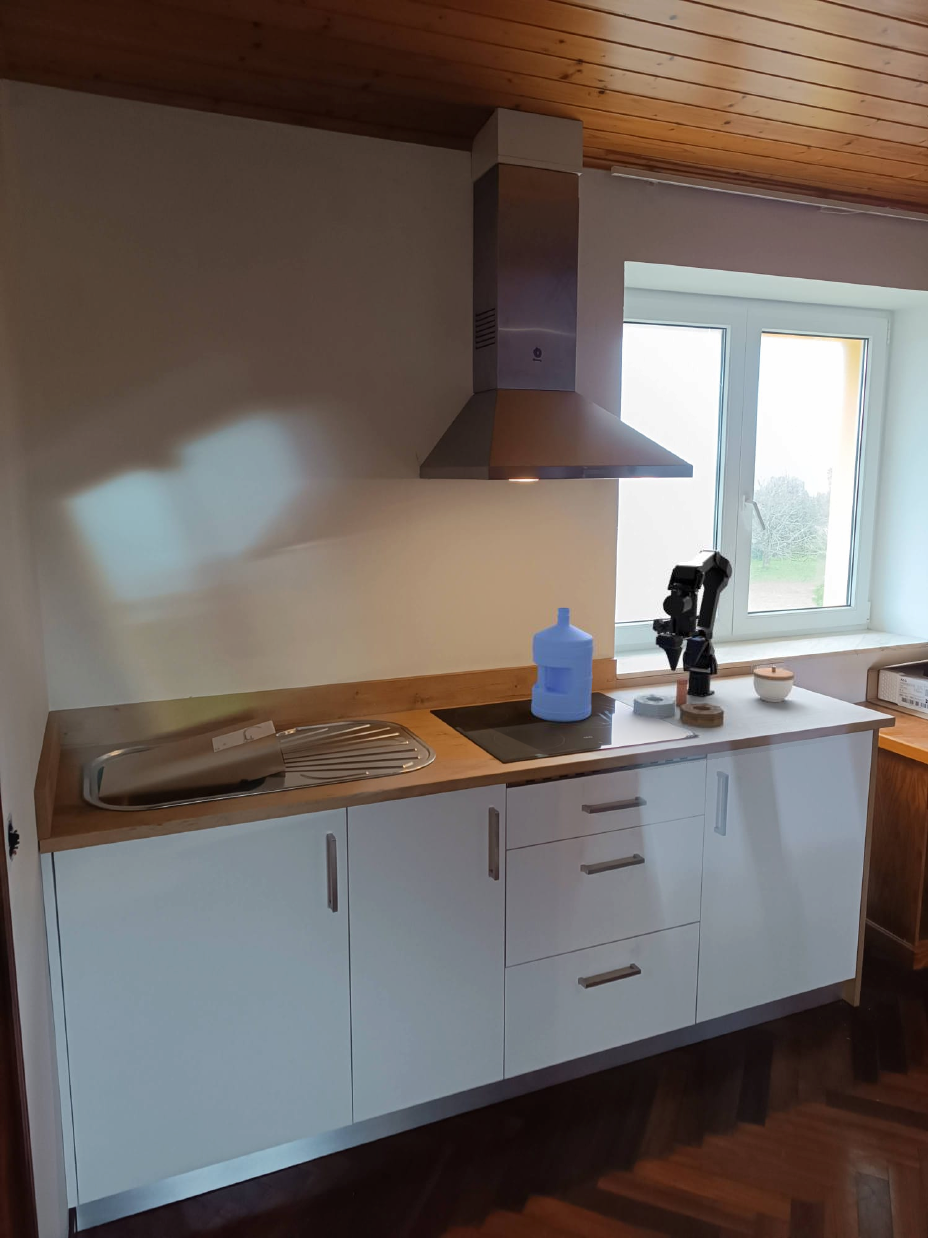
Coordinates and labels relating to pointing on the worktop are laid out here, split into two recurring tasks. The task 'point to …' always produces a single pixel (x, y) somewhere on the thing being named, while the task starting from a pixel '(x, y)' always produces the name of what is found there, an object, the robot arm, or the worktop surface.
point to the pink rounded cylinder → (681, 692)
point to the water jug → (562, 671)
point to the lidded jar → (772, 683)
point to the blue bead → (654, 705)
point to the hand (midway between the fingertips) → (683, 668)
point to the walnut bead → (701, 715)
